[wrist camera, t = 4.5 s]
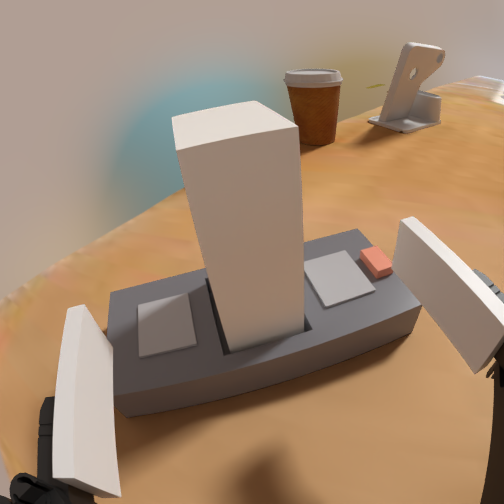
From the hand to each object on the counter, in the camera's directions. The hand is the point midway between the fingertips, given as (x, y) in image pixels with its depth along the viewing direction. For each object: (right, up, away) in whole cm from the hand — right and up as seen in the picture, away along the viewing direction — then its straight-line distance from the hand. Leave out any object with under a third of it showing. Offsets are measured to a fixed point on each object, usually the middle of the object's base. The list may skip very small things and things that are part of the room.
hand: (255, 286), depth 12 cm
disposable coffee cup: (+11, +20, +39) cm, 45 cm away
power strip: (0, -4, +10) cm, 11 cm away
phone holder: (+33, +29, +46) cm, 64 cm away
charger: (0, -3, +9) cm, 9 cm away
